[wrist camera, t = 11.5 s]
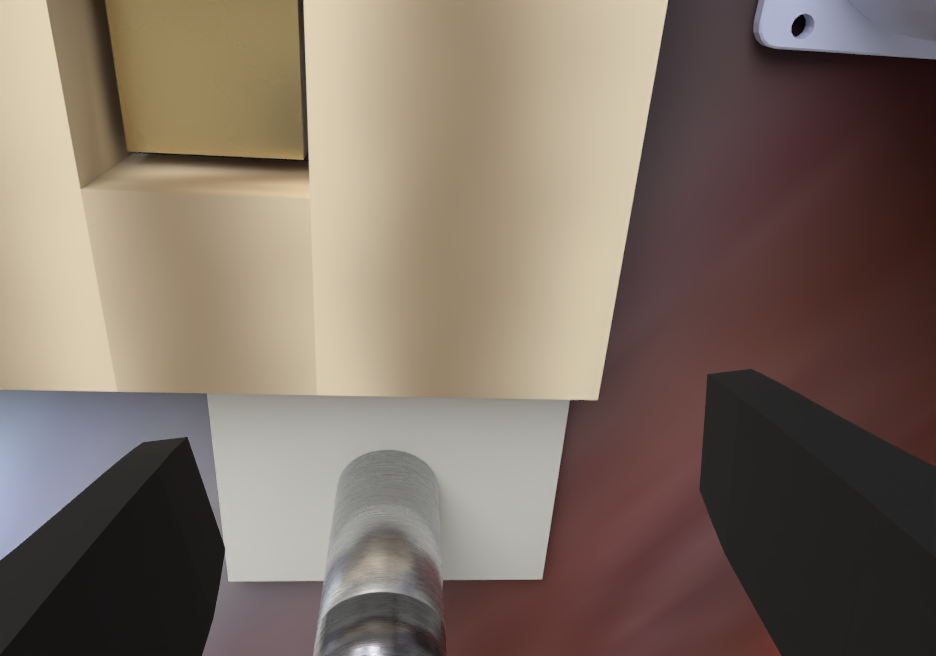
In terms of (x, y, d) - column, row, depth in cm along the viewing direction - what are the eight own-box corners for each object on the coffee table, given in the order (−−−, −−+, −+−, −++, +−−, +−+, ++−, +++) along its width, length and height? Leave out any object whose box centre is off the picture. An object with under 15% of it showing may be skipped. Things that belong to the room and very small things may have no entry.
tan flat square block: (301, -30, 15) (296, -30, 14) (308, 151, 17) (303, 159, 16) (113, -44, 15) (98, -44, 14) (139, 142, 16) (127, 151, 16)
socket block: (669, -299, 14) (731, -360, 11) (572, 341, 20) (597, 400, 17) (-363, -415, 12) (-581, -520, 9) (-114, 324, 18) (-202, 386, 16)
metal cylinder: (405, 433, 20) (402, 642, 14) (456, 502, 22) (474, 722, 15) (316, 477, 21) (276, 697, 15) (371, 542, 22) (355, 770, 16)
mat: (566, 387, 21) (570, 398, 20) (539, 565, 24) (542, 579, 23) (212, 380, 20) (206, 392, 19) (232, 567, 23) (228, 581, 22)
